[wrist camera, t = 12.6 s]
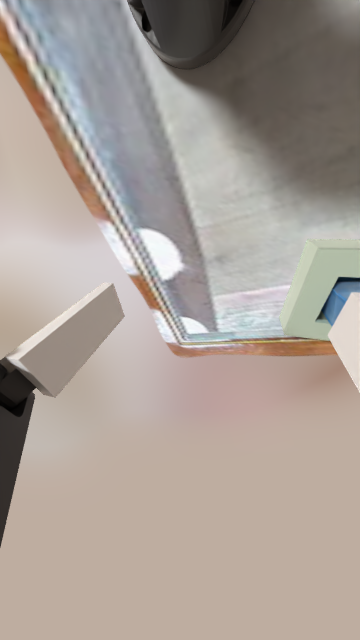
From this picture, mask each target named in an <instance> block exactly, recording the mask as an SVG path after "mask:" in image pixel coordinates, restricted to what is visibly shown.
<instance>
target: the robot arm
mask: <svg viewBox="0 0 360 640" xmlns="http://www.w3.org/2000/svg"><path fill="white" fill-rule="evenodd" d="M127 2H128V4H129V7H130V10H131V12H132V15H133V17H134V19H135V21H136V23H137V25H138V27H139V29H140V31H141V32H142V34H143V35H144V37H145V39H146V40H147V42H148V43H149V45H150V46H151V48H152V49H153V50H154V52H155V53H156V54H157V55H158V56H159V57H160V58H161V59H162V60H164V61H165V62H166V63H168V64H170V65H172V66H174V67H177V68H181V69H192V68H196V67H199V66H202V65H204V64H206V63H208V62H209V61H211V60H212V59H214V58H215V57H216V56H217V55H218V54H219V53H221V52H222V51H223V50H224V48H225V47H226V46H227V45H228V44H229V43H230V41H231V40H232V39H233V37H234V36H235V35H236V33H237V32H238V30H239V29H240V27H241V25H242V24H243V22H244V20H245V18H246V16H247V14H248V13H249V11H250V8H251V6H252V4H253V2H254V0H127ZM123 318H124V313H123V310H122V307H121V304H120V302H119V299H118V296H117V293H116V290H115V287H114V285H113V283H102V284H101V285H100V286H98V287H97V288H96V289H94V290H93V291H92V292H90V293H89V294H88V295H86V296H85V297H84V298H83V299H81V300H80V301H78V302H77V303H76V304H74V305H73V306H72V307H70V308H69V309H68V310H66V311H65V312H64V313H62V314H61V315H60V316H58V317H57V318H56V319H54V320H53V321H52V322H50V323H49V324H48V325H46V326H45V327H44V328H43V329H41V330H40V331H38V332H37V333H36V334H34V335H33V336H32V337H30V338H29V339H28V340H26V341H25V342H24V343H22V344H21V345H20V346H18V347H17V348H16V349H14V350H13V351H12V352H10V353H9V354H8V355H7V356H5V357H4V358H3V359H2V360H0V546H1V542H2V538H3V533H4V529H5V525H6V520H7V516H8V512H9V507H10V503H11V499H12V494H13V490H14V485H15V481H16V477H17V473H18V469H19V464H20V460H21V455H22V451H23V447H24V443H25V438H26V434H27V430H28V425H29V421H30V417H31V412H32V408H33V404H34V399H35V394H34V393H33V392H32V391H33V390H34V389H35V388H37V389H38V390H39V391H40V392H41V393H42V394H43V395H47V396H51V397H56V396H57V395H58V394H59V393H60V392H61V391H62V389H63V388H64V387H65V386H66V385H67V384H68V382H69V381H70V380H71V379H72V378H73V376H74V375H75V374H76V373H77V372H78V370H79V369H80V368H81V367H82V366H83V365H84V364H85V362H86V361H87V360H88V359H89V358H90V356H91V355H92V354H93V353H94V352H95V351H96V349H97V348H98V347H99V346H100V345H101V344H102V342H103V341H104V340H105V339H106V338H107V337H108V335H109V334H110V333H111V332H112V331H113V329H114V328H115V327H116V326H117V325H118V324H119V322H120V321H121V320H122V319H123ZM327 336H328V337H329V339H330V341H331V343H332V344H333V346H334V348H335V350H336V352H337V353H338V355H339V357H340V359H341V361H342V362H343V364H344V366H345V368H346V369H347V371H348V373H349V375H350V377H351V378H352V380H353V382H354V384H355V385H356V387H357V389H358V391H359V393H360V293H358V292H351V294H350V296H349V298H348V300H347V301H346V303H345V305H344V307H343V308H342V310H341V312H340V314H339V316H338V317H337V319H336V321H335V323H334V324H333V326H332V328H331V330H330V332H329V333H328V335H327Z"/></svg>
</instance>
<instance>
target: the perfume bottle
mask: <svg viewBox="0 0 360 640" xmlns="http://www.w3.org/2000/svg"><path fill="white" fill-rule="evenodd" d="M351 292H358V293H360V278H357V277H338V279H337V281H336V283H335V284H334V286H333V288H332V290H331V292H330V294H329V296H328V298H327V300H326V302H325V303H324V305H323V307H322V309H321V311H322V312H323V314H324V315H325V317H326V319H327V320H328V322H329V323H330V325H331V326H333V324H334V323H335V321H336V319H337V317H338V316H339V314H340V312H341V310H342V308H343V307H344V305H345V303H346V301H347V300H348V298H349V296H350V294H351Z"/></svg>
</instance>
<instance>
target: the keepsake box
mask: <svg viewBox="0 0 360 640" xmlns="http://www.w3.org/2000/svg"><path fill="white" fill-rule="evenodd" d="M338 277H357V278H360V240H342V239H307V242H306V244H305V247H304V250H303V253H302V255H301V258H300V261H299V264H298V266H297V269H296V272H295V275H294V277H293V280H292V283H291V286H290V289H289V291H288V294H287V297H286V300H285V302H284V305H283V308H282V311H281V313H280V316H279V319H280V322H281V325H282V328H283V332H284V335H287V336H295V337H303V338H311V339H319V340H328V341H330V339H329V337H328V336H327V335H328V333H329V332H330V330H331V328H332V326H331V325H330V323H329V322H328V320H327V319H326V317H325V315H324V314H323V312H322V311H321V309H322V307H323V305H324V303H325V302H326V300H327V298H328V296H329V294H330V292H331V290H332V288H333V286H334V284H335V283H336V281H337V279H338Z"/></svg>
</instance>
